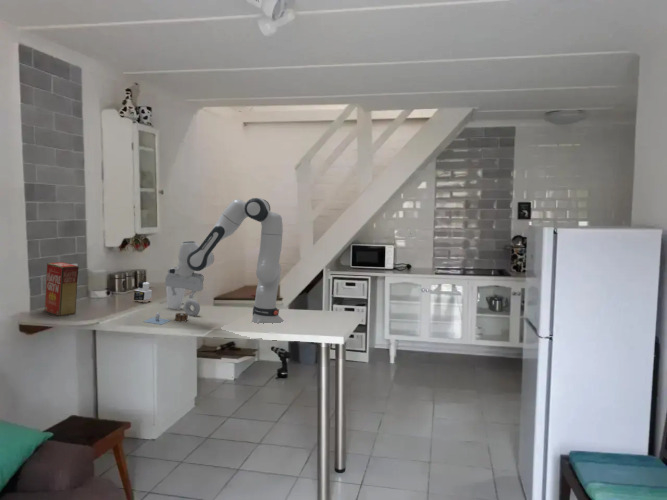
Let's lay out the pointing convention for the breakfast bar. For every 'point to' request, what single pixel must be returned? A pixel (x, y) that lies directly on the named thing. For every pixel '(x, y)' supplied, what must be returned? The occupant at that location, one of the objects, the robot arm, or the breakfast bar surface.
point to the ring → (181, 317)
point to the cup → (174, 298)
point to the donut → (195, 305)
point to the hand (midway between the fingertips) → (182, 296)
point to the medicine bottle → (142, 291)
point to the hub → (157, 320)
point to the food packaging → (61, 288)
